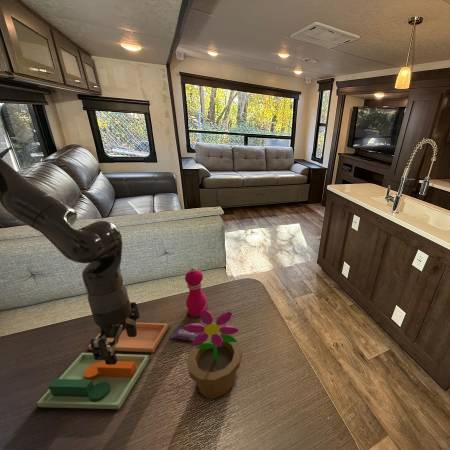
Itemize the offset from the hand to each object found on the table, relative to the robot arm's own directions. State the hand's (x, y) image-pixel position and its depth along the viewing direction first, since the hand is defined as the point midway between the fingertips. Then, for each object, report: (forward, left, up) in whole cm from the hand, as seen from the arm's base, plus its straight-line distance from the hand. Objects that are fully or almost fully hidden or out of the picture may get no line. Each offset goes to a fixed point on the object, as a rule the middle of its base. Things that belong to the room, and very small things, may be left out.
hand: (123, 348), depth 66 cm
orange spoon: (-6, 0, -10) cm, 12 cm away
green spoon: (-8, -6, -10) cm, 14 cm away
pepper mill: (+10, +26, -11) cm, 30 cm away
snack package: (+12, +14, -11) cm, 22 cm away
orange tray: (-7, +12, -11) cm, 18 cm away
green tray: (-7, -2, -11) cm, 13 cm away
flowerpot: (+25, -1, -11) cm, 27 cm away
